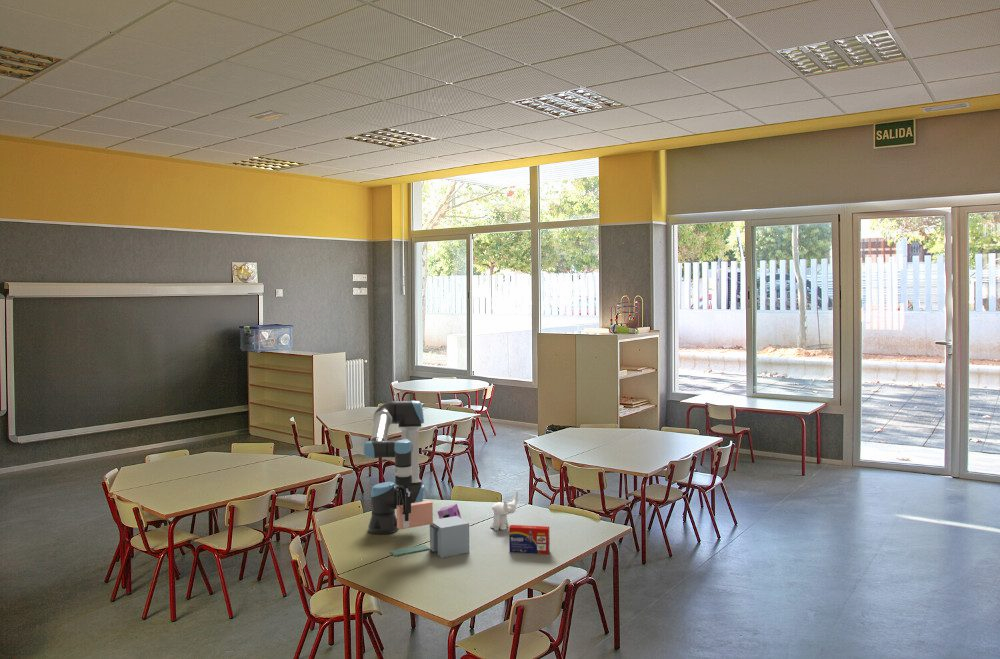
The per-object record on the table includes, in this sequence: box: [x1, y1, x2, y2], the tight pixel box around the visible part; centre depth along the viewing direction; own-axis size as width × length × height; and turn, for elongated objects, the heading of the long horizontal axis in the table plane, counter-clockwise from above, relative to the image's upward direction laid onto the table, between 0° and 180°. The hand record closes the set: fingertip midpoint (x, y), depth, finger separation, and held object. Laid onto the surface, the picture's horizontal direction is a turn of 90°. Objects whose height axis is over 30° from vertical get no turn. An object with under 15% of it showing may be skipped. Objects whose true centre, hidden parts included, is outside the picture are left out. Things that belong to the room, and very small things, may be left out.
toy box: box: [508, 524, 551, 555], centre depth 334 cm, size 18×4×12 cm, turn 79°
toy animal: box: [490, 490, 519, 531], centre depth 370 cm, size 20×12×17 cm, turn 161°
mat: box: [389, 544, 431, 557], centre depth 337 cm, size 6×17×1 cm, turn 119°
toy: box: [437, 503, 463, 519], centre depth 358 cm, size 11×8×15 cm
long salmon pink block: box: [396, 500, 434, 530], centre depth 331 cm, size 4×16×10 cm, turn 118°
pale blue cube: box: [429, 516, 470, 559], centre depth 336 cm, size 13×15×14 cm
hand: (404, 526), depth 329 cm, fingers closed on long salmon pink block, 3 cm apart
